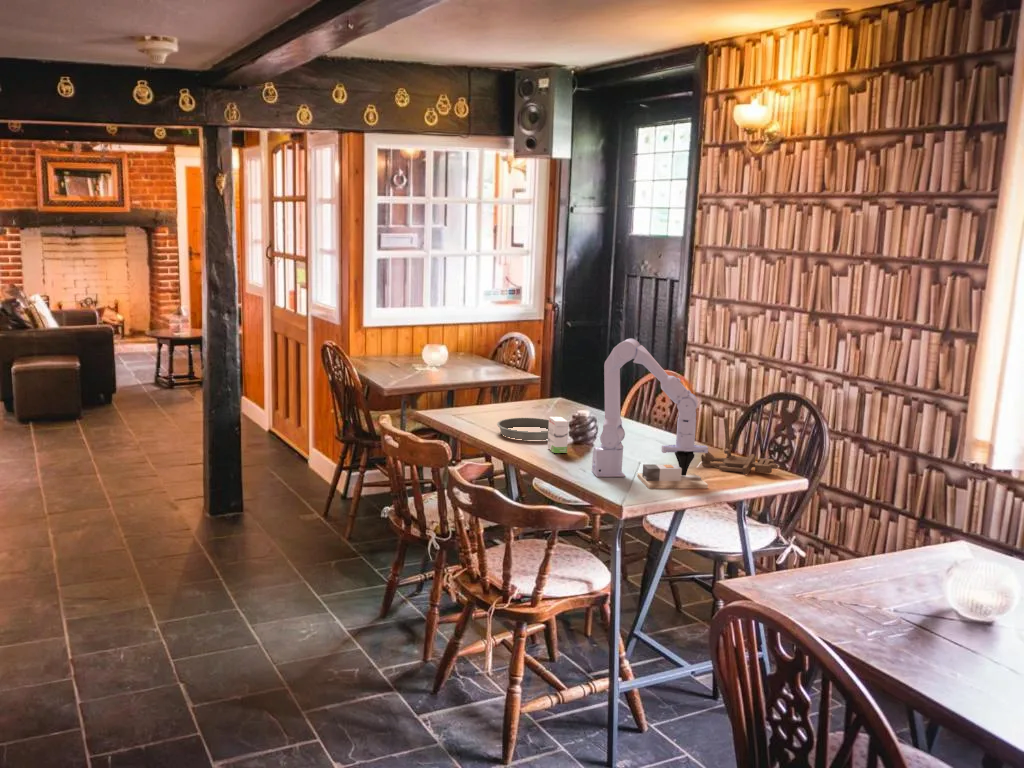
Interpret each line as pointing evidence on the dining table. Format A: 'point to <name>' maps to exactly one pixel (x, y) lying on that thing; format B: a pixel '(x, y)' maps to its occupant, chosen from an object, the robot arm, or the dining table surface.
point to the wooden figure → (737, 459)
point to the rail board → (652, 481)
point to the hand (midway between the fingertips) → (683, 474)
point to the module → (670, 472)
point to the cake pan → (524, 423)
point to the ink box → (557, 434)
